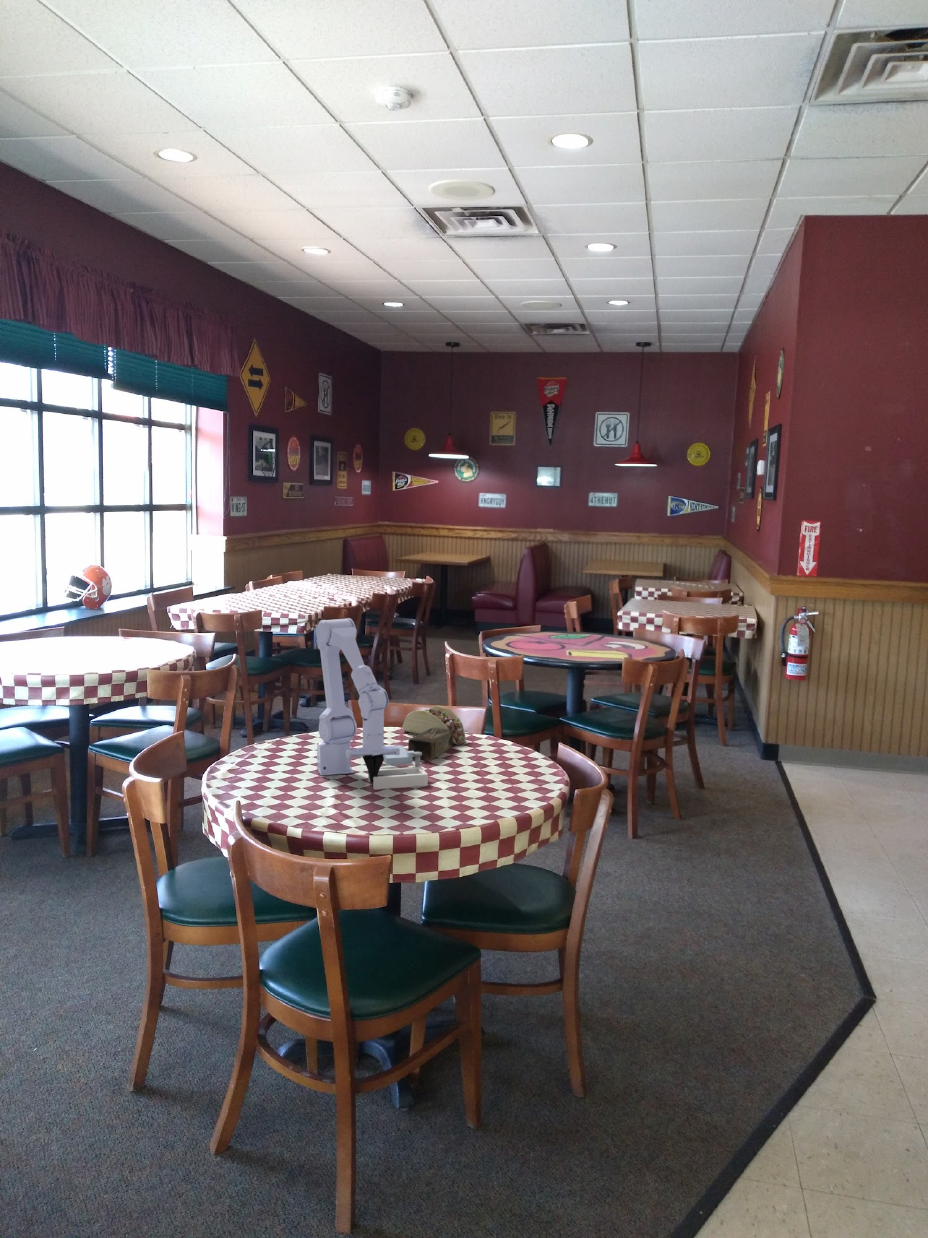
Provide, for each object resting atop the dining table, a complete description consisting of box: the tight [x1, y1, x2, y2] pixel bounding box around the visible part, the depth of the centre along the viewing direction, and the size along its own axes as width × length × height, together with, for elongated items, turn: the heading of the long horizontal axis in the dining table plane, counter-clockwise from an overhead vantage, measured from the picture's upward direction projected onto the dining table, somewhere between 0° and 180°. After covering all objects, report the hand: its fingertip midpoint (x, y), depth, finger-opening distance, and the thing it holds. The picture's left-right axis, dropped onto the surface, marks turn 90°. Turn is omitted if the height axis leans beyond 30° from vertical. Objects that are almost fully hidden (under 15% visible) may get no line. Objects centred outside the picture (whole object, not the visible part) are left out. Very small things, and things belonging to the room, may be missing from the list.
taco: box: [402, 705, 467, 746], centre depth 305 cm, size 10×27×10 cm, turn 47°
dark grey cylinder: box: [377, 773, 407, 777], centre depth 252 cm, size 8×3×3 cm
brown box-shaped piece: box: [407, 727, 454, 762], centre depth 286 cm, size 8×19×7 cm, turn 159°
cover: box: [383, 744, 422, 766], centre depth 265 cm, size 15×10×3 cm, turn 17°
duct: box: [367, 756, 429, 790], centre depth 254 cm, size 15×10×6 cm, turn 107°
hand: (372, 781), depth 252 cm, fingers closed
